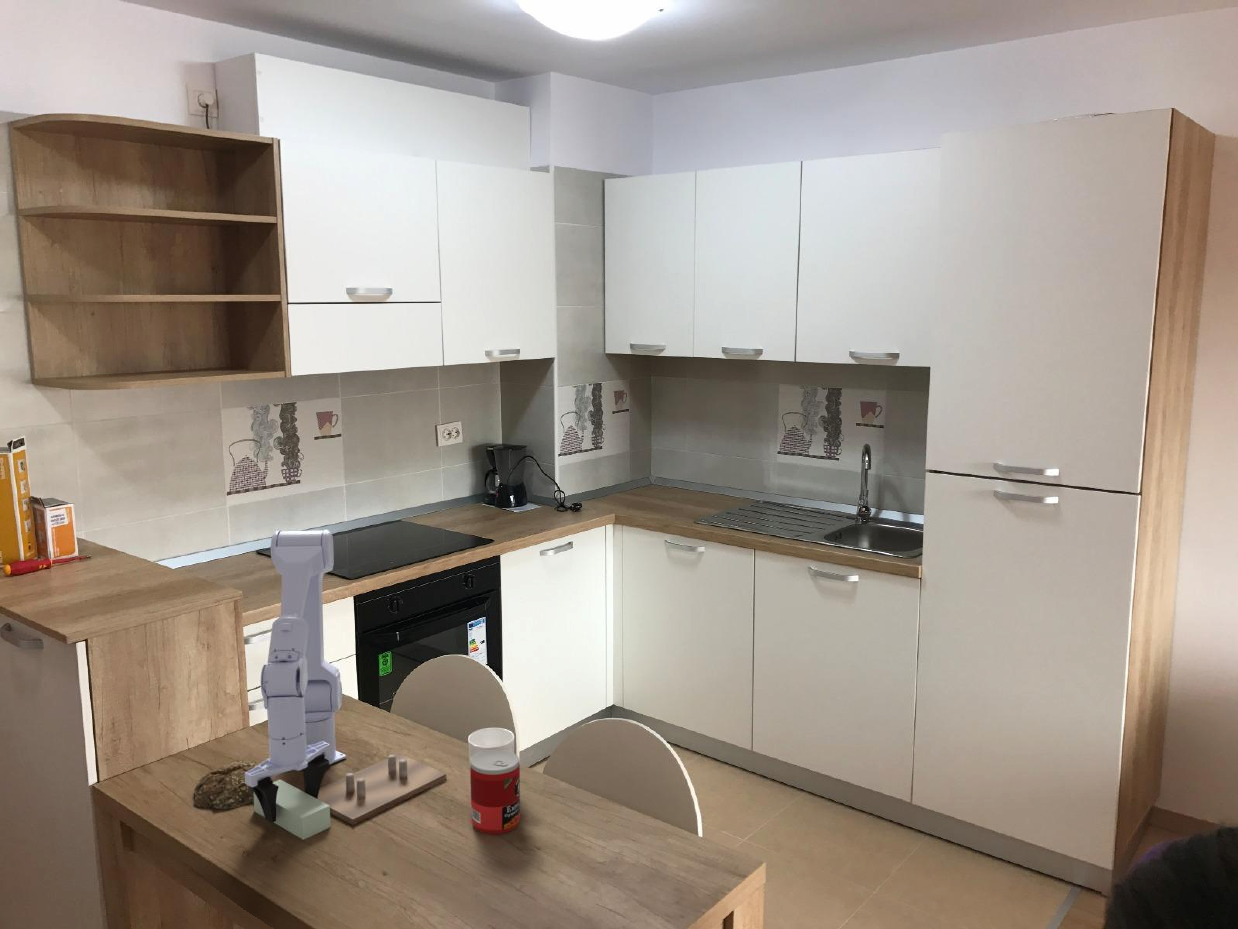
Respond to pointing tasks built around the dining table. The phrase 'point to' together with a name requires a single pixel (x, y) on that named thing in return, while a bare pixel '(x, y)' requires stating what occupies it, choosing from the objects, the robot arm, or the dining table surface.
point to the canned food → (495, 791)
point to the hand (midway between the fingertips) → (291, 810)
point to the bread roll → (225, 787)
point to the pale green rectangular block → (298, 811)
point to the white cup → (490, 740)
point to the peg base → (378, 787)
